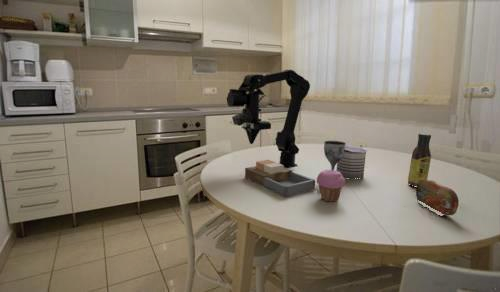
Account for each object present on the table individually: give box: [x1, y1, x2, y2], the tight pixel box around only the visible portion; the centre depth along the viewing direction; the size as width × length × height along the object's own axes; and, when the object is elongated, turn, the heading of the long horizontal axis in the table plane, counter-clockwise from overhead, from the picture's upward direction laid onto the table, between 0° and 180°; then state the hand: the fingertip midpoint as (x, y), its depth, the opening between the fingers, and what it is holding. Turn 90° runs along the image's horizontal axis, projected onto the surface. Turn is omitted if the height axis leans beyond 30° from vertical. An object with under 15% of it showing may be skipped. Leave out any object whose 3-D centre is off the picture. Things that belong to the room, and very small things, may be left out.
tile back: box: [255, 159, 276, 170], centre depth 116 cm, size 6×4×2 cm
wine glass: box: [323, 140, 347, 170], centre depth 115 cm, size 8×8×15 cm
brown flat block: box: [244, 165, 293, 187], centre depth 116 cm, size 14×12×4 cm
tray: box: [262, 171, 316, 198], centre depth 106 cm, size 14×12×4 cm
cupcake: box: [316, 169, 346, 202], centre depth 96 cm, size 9×9×10 cm
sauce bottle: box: [407, 133, 432, 186], centre depth 109 cm, size 7×6×20 cm
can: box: [335, 144, 368, 180], centre depth 121 cm, size 11×11×12 cm
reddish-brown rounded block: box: [415, 179, 459, 216], centre depth 89 cm, size 15×3×8 cm, turn 5°
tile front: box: [264, 162, 284, 174], centre depth 112 cm, size 6×4×2 cm
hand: (251, 143), depth 123 cm, fingers closed
